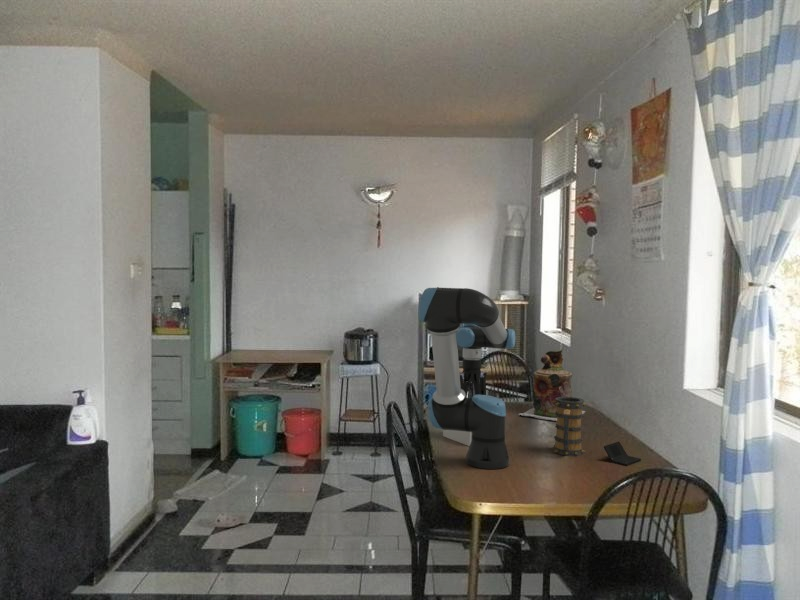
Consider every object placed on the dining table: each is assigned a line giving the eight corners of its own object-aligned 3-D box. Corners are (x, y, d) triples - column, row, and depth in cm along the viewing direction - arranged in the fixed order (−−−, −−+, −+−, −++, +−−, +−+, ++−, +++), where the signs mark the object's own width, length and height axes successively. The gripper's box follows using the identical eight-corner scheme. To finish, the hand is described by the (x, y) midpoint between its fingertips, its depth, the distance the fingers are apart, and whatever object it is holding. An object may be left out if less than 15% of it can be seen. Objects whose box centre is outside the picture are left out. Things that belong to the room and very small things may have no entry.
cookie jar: (538, 408, 330) (540, 344, 329) (586, 415, 316) (588, 349, 314) (516, 416, 310) (518, 348, 309) (567, 424, 296) (569, 353, 294)
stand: (469, 446, 254) (470, 427, 254) (442, 436, 269) (443, 418, 269) (497, 442, 261) (498, 423, 261) (470, 432, 277) (470, 415, 276)
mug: (586, 449, 253) (588, 397, 252) (583, 461, 237) (585, 406, 236) (552, 446, 257) (554, 395, 256) (546, 457, 241) (548, 403, 240)
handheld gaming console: (632, 463, 230) (617, 437, 235) (615, 472, 234) (600, 447, 238) (643, 460, 239) (628, 436, 244) (626, 470, 243) (612, 445, 247)
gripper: (458, 361, 256) (456, 420, 257) (496, 358, 266) (495, 415, 267) (447, 358, 262) (445, 416, 263) (484, 356, 272) (483, 411, 273)
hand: (470, 415), depth 265 cm, fingers closed on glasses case, 6 cm apart
